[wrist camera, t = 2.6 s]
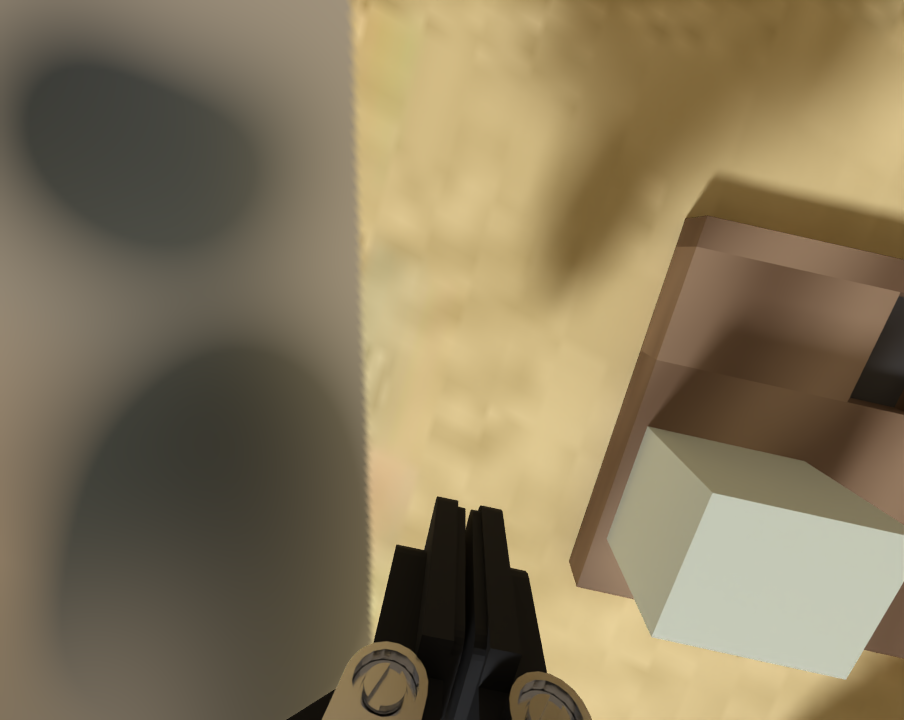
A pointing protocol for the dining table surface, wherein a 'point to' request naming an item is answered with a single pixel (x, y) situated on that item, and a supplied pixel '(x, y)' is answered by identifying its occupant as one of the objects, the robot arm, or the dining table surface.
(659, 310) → the track
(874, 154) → the dining table surface
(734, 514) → the sage block
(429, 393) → the dining table surface
